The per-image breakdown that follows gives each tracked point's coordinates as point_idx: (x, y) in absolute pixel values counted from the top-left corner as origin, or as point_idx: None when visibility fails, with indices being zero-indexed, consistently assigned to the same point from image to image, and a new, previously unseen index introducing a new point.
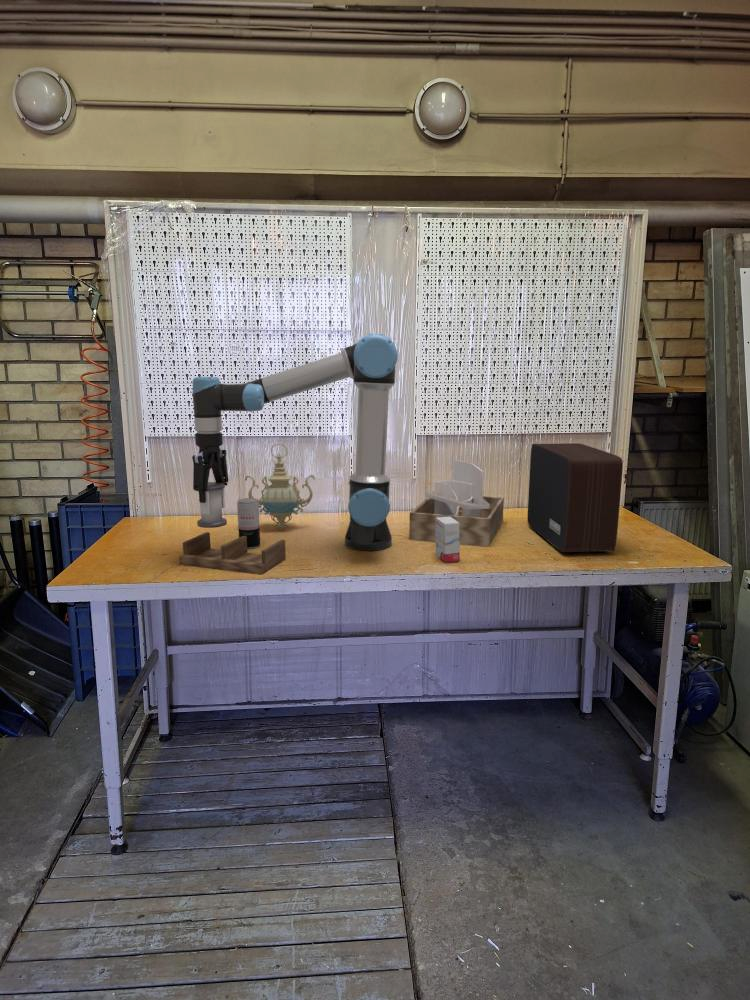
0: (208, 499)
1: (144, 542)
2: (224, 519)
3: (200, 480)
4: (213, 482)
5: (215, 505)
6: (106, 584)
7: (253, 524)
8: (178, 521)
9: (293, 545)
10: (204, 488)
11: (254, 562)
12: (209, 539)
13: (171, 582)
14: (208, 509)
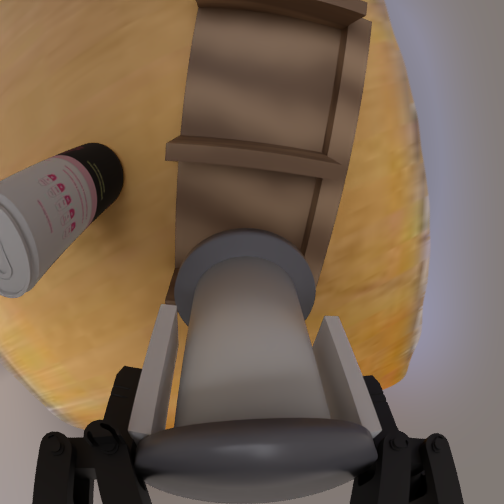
0: (355, 383)
1: (175, 397)
2: (202, 258)
3: (459, 490)
4: (161, 485)
5: (295, 333)
6: (415, 334)
7: (68, 167)
8: (51, 386)
9: (58, 53)
10: (409, 450)
11: (348, 48)
12: (173, 285)
13: (425, 239)
14: (344, 334)
